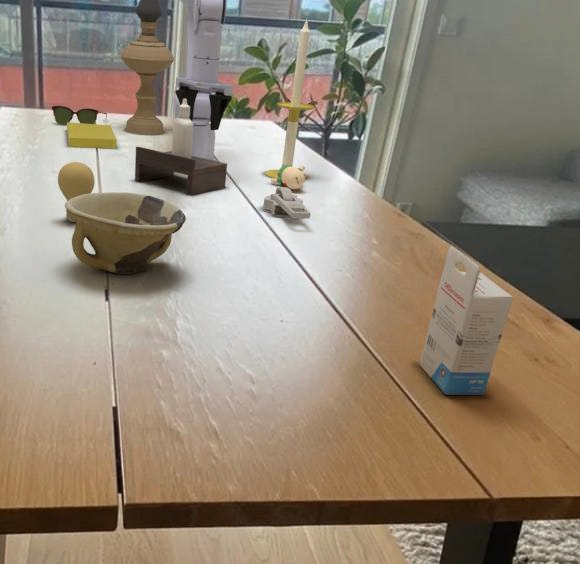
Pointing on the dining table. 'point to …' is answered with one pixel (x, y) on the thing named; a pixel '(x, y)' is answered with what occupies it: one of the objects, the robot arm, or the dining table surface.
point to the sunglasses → (83, 115)
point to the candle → (295, 102)
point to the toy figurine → (290, 176)
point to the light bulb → (75, 181)
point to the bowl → (122, 229)
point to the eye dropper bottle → (183, 132)
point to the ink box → (464, 328)
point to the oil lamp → (146, 68)
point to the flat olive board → (90, 135)
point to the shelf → (180, 169)
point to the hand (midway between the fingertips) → (201, 127)
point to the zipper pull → (285, 204)
